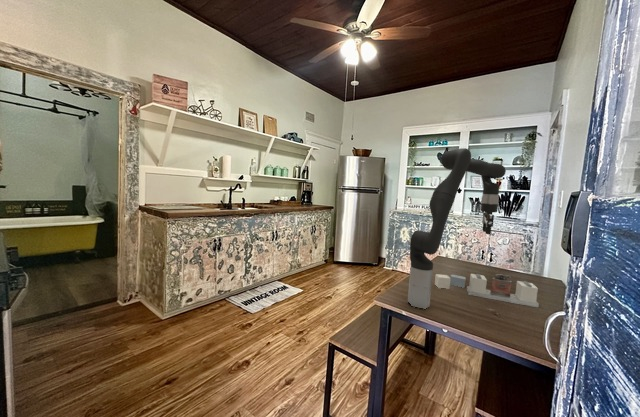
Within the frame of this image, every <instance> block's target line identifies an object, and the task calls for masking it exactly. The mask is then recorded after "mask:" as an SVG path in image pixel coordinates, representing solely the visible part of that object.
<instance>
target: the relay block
mask: <svg viewBox="0 0 640 417" xmlns="http://www.w3.org/2000/svg"><path fill="white" fill-rule="evenodd" d="M434 277H435V278H434V286H435V285H436V286H437V287H438V288H437V287H436V286H435V287H436V288H437V289H441V288H446V289H445V290H450V289H451V287H450V286H451V285H450V279H451V276H449V275H448V274H439V273H436V274H435V276H434Z"/></svg>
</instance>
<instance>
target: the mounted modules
mask: <svg viewBox="0 0 640 417" xmlns="http://www.w3.org/2000/svg"><path fill="white" fill-rule="evenodd" d="M487 281H488V279H487V278H486V277H485V275H482V274H480V273H470V276H469V284H468V285H469V287H470V289H471V291H472V292H478V293H484V294H485V292H486V289H487V283H488V282H487ZM515 287H516V288H515V293H514V294H515V295H516V296H517V297H518V298H519V299H520V300H522V301H528V302H533V303H536V301H537V298H538V291H539V288H538V287H537V286H536V285H535V284H534V283H532V282H528V281H526V280H523V281H521V280H520V281H519V280H517V281H516V286H515Z"/></svg>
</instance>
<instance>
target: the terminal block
mask: <svg viewBox="0 0 640 417" xmlns="http://www.w3.org/2000/svg"><path fill="white" fill-rule="evenodd" d="M450 278H451V279H450V286H453V285H454V287H457V286H458V288H461V287H462V289H465V286H466V276H462V275H456V274H450Z"/></svg>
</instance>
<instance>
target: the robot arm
mask: <svg viewBox="0 0 640 417" xmlns="http://www.w3.org/2000/svg"><path fill="white" fill-rule="evenodd" d="M440 161H441V164H442V166H443V168H444V169H445V170H449V171H450V170H451V171H450V172H449V174H448V175H447V177H445V179H443V181H441V182H440V183H439V184H438V185H437V186H436V187H435V189H434V190H433V193H432V195H431V198H430V200H429V209H430V214H431V218H432V224H431V225H432V226H431V227H430V228H431V229H430V231H424V230H414V231H413V233H412V234H411V237H410V240H409V242H410V243H409V260H410V268H409V270H410V271H409V281H408V290H407V291H408V293H407V303H408V302H409V303H410V304H411V306H415V307H420V308H424V309H426V308H427V307H429V308H430V305H431V293H432V284H433V283H432V282H433V272H434V263H433V261H432V260H431V259H429V257H427V256H426V254H427V255H432V256H433V255H434V254H436V253H437V252H438V250H439V247H440V245H441V242H442V238H443V234H444V230H445V227H446V223H447V221H448V217H449V214H450V212H451V209H452V207H453V204H454V202H455V200H456V196H457V193H458V190H459V188H460V185H461V183H462V180H463V178H464V177H465V175H466V173H472V174H475V175H479V176H480V177H481V181H482V186H483V189H482V196H481V202H480V212H483V213H482V221H481V223H482V232H484V233H485V234H486V235H491V234H492V233H491V232H492V227H493V226H494V219H495V215H494V214H493V213H497V212H498V207H499V201H500V200H499V196H500V195H499V194H500V184H499V183H497V182H493V181H492V179H501V178H504V176H505V175H506V172H507V171H506V167H505V166H504V165H502V164H500V163H495V162H494V163H493V162H488V161H485V160H482V159H477V158H476V159H475V158H472V154H471V151H470V149H468V148H466V147H465V148H464V147H463V148H462V147H461V148H456V149H450V150H447V151H445V152H444V153H442V156H441V160H440ZM411 306H410V307H411ZM415 307H414V308H415ZM424 309H423V310H424ZM427 309H428V308H427ZM427 309H426V310H427Z"/></svg>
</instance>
